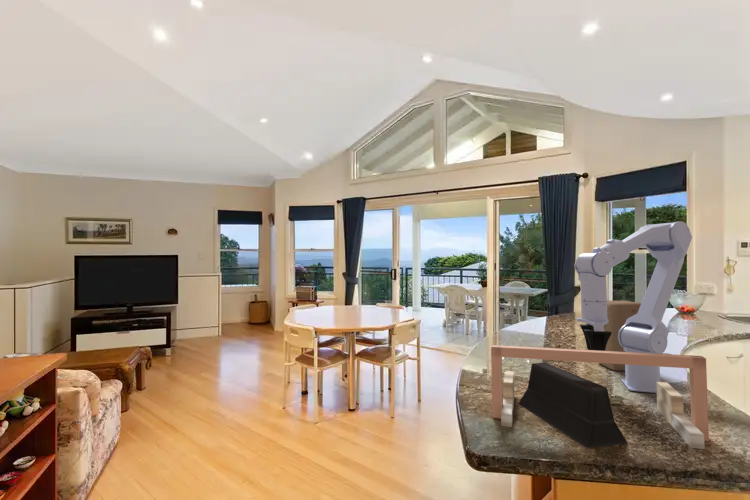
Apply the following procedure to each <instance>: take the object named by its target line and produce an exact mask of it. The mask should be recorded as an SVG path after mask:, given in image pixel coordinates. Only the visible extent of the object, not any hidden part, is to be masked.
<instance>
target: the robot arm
mask: <svg viewBox="0 0 750 500" xmlns="http://www.w3.org/2000/svg"><path fill="white" fill-rule="evenodd" d="M692 239H693V236H692V232H691V229H690V228H689V226H688V224H687V223H686V222H685V221H682V220H680V221H675V222H666V223H665V222H663V223H656V224H655V223H653V224H652V223H649V224H645V225H644V226H641V227H639V229H638V230H636V231H635V232H633V233H632V234H630V235H629V236H627V237H625V238H624V239H622V240H620V239H614V238H613V239H607V240H606V241H605V244H603V245H602V246H598V247H596V246H595V247H593V249H592V250H591V252H584V253H581V254H579V255H578V257H577V258H576V259H575V263H574V264H573V266H574V270H575V272H576V273H577V275H578V277H577V278H578V279H577V280H579V282H580V283H579V284H580V309H581V310H580V311H581V317H576V319H575V321H576V322H581V323H583V324H579V327H580V329H581V331H582V333H583V335H584V340H585V343H586V350H596V351H605V349H606V345H607V342H608V340H609V338H610V336H611V334H612V333H611V332H610V331H604V328H605V324H607V323H609V320H608V318H607V301H608V293H607V275H609V274H611V271H612V269H613V267H615V266H617V265H619V264H620V263H623V262H625V261H626V260H628V259H629V258H630V254H631V252H633V251H635V250H639V249H640V248H642V247H644V248H646V250H647V251H648V252H649V254H650V255H651V257H652V258H654V259H656V261H657V262H656V264H655V266H654V270H653V273H652V275H651V278H650V280H649V282H648V286H647V288H646V289H645V290H646V291H645V293H644V296H643V299H642V300H641V302H640V303H641V306H640V308H639V311H638V313H637V314H635V315H634V316H632V317H630V318H628V319H627V320H626V323H625V324H624V326H622V327H621V329H620V330H619V333H618V341H619V343H620V345H621V346H622V347H623V349H624V351H626V352H635V353H654V354H664V352H665V351H666V349H667V348H668V335H669V332H670V330H669V328H668V327H667V326H666V324H665V323H664V322H663V321H662V320H663V317H664V315H665V313H666V310H667V307H668V306H669V302H670V299H671V296H672V294H673V291H674V289H675V286H676V283H677V280H678V278H679V275H680V272H681V270H682V268H683V265H684V262H685V257H686V255H687V252H688V250H689V247H690V244H691V242H692ZM660 368H661V367H659V366H642V365H626V364H625V372H624V373H625V378H621V382H622V383H623V384H624V386H625V387H626V389H627V390H628V391H629V392H638V393H639V392H641V393H653V394H654V393H655V394H657V383H656V382H661V372H660V371H661V369H660Z"/></svg>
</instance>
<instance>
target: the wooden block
mask: <svg viewBox="0 0 750 500" xmlns="http://www.w3.org/2000/svg"><path fill="white" fill-rule="evenodd" d="M641 303H642V302H636V301H631V300H607V318H608V320H609V323H607V324H605V328H604V331H610V332H611V333H612V334H611V336H610V338H609V340H608V342H607V345H606V349H605V351H615V352H626V351H624V349H623V347H622V346H621V345H620V343H619V341H618V333H619V330H620V329H621V327H622V326H624V324H625V323H626V320H627V319H628V318H630V317H632V316H634V315H635V314H637V313H638V311H639V308H640V306H641ZM598 364H599V365H601V366H604V367H606V368H608V369H610V370H612V371H615V372H616V371H617V372H618V371H620V372H621V371H625V364H610V363H598Z"/></svg>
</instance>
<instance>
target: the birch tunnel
mask: <svg viewBox="0 0 750 500" xmlns="http://www.w3.org/2000/svg"><path fill="white" fill-rule="evenodd" d="M503 377H504V378H503V380H502V390H503V405H502V412H501V419H500V420H501V421H500V423H501V424H500V425H501V427H507V428H512V427H513V420H514V419H513V418H514V405H515V397H516V395H515V371H511V370H510V371H509V370H505V372H504V376H503ZM656 383H657V393H656V405H657V406H656V408H657V410H658V412H659V413H660V414H661V415H662V417H663V418H665V420H666V421H667V422H668V423H669V424H670V425H671V427H672V429H674V430H675V432H677V434H678V435H679V436H680V437H681V438H682V439H683V440H684V442H685V443H686V444H687V445H688V446H689V448H691V449H701V450H705V441H704V434H703V433H702V432H701V431H700V430H699V429H698V428H697V427H696V426H695V425H694V424H693V423H692V422H691V419H689V418H688V417H687V416H686V415H685V414H684V413H685V412H684V410H685V409H684V407H685V406H684V395H682V394H681V393H679V392H678V391H677V390H676V389H675V388H674V387H673V386H671V384H669V382H667V381H666V382H664V381H660V382H656Z"/></svg>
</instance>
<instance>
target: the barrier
mask: <svg viewBox="0 0 750 500" xmlns="http://www.w3.org/2000/svg"><path fill="white" fill-rule="evenodd" d="M609 395H610V394H609V391H608V388H607V387H606V386H603V385H601V384H599V383H597V382H594V381H591V380H589V379H587V378H584V377H581V376H579V375H577V374H574V373H572V372H570V371H566V370H564V369H562V368H559V367H557V366H554V365H551V364H549V363H547V362H533V363H531V367H530V372H529V379H528V384H527V388H526V390H525V392H524V394H523V395H522V397H521V398H520V400H519V402H518V403H517V404H518V405H519V406H520V407H522V408H524V409H525V410H526V411H529V412H530V413H532V414H533V415H534V416H536V417H538V418H539V419H541V420H542V421H543V422H545V423H547V424H549V425H550V426H552V427H553V428H555V429H556V430H558V431H559V432H561V433H562V434H564V435H566V436H567V437H569V438H570V439H571V440H574V441H575V442H577V443H578V444H580V445H581V446H583V447H584V448H586V449H593V448H603V447H611V446H620V445H628V444H629V442H628V441H627V439H626V437H625V436H624V434H623V433H622V431H621V430H620V428H619V426H618V425H617V423H616V421H615V418H614V413H613V409H612V404H611V400H610V396H609Z"/></svg>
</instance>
